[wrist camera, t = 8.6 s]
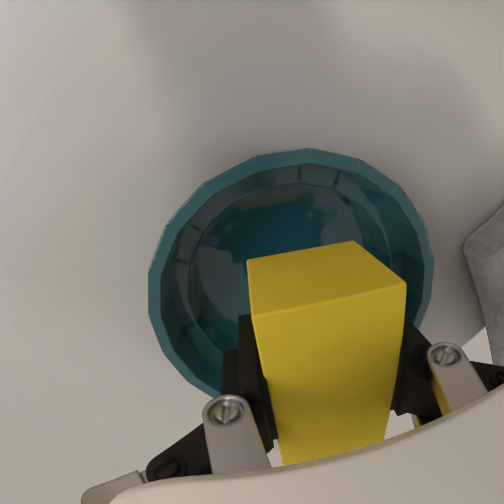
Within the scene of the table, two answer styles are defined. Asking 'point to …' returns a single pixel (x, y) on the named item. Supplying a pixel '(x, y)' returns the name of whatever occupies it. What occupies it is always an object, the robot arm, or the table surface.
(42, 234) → the table surface
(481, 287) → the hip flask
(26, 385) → the table surface
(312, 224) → the bowl
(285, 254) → the sponge
